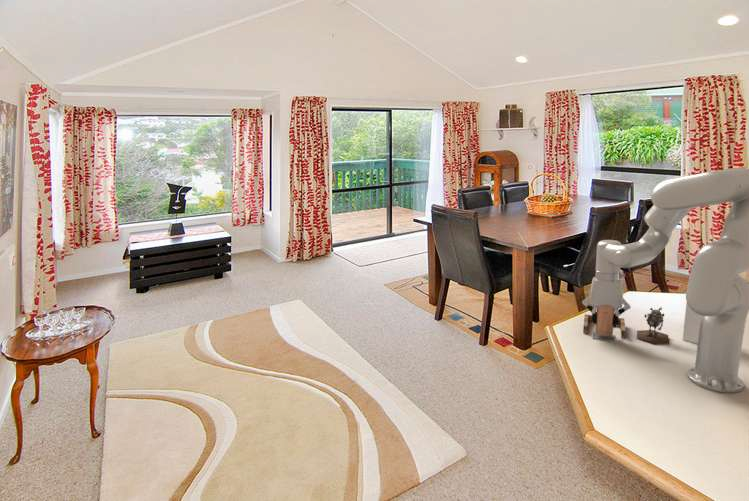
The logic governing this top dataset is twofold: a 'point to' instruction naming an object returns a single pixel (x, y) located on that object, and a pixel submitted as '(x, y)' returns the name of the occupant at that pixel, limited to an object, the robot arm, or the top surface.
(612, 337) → the mat
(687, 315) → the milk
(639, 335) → the robot figurine
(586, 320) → the frame
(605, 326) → the peach rounded cylinder
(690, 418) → the top surface
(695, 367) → the robot arm
